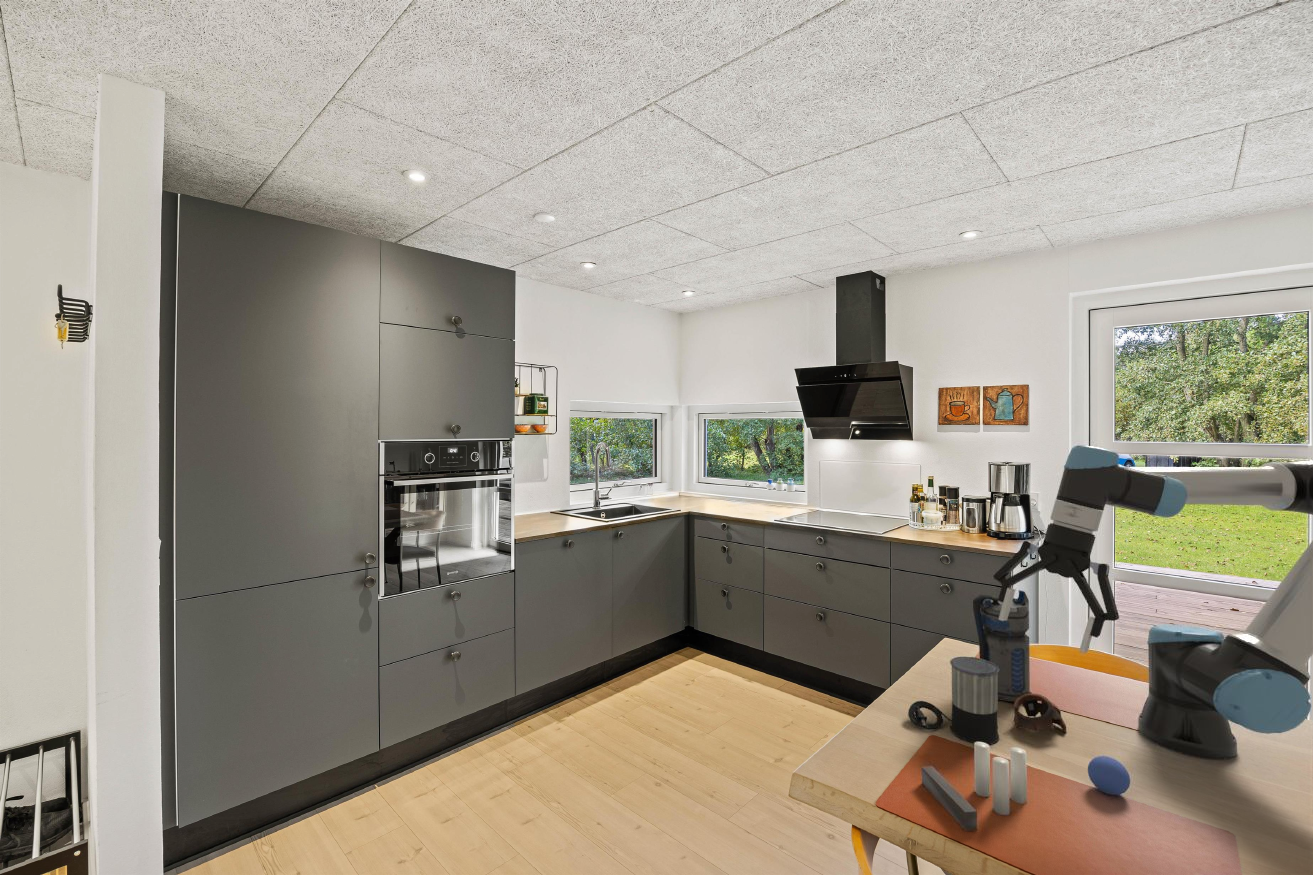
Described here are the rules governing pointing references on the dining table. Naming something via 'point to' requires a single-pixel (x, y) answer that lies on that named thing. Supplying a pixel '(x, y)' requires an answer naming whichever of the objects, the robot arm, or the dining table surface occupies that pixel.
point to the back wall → (949, 798)
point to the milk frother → (967, 702)
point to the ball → (1108, 775)
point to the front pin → (1018, 775)
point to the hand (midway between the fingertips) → (1041, 635)
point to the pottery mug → (1032, 708)
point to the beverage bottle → (1005, 642)
